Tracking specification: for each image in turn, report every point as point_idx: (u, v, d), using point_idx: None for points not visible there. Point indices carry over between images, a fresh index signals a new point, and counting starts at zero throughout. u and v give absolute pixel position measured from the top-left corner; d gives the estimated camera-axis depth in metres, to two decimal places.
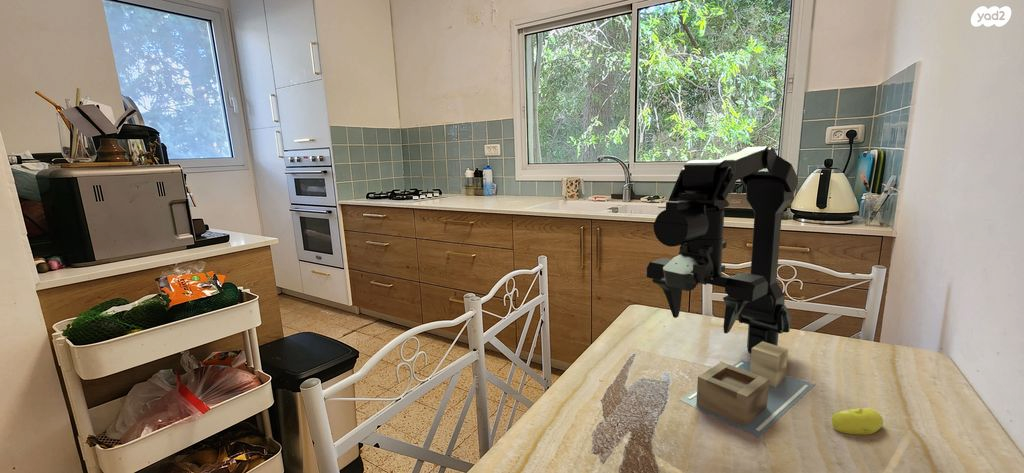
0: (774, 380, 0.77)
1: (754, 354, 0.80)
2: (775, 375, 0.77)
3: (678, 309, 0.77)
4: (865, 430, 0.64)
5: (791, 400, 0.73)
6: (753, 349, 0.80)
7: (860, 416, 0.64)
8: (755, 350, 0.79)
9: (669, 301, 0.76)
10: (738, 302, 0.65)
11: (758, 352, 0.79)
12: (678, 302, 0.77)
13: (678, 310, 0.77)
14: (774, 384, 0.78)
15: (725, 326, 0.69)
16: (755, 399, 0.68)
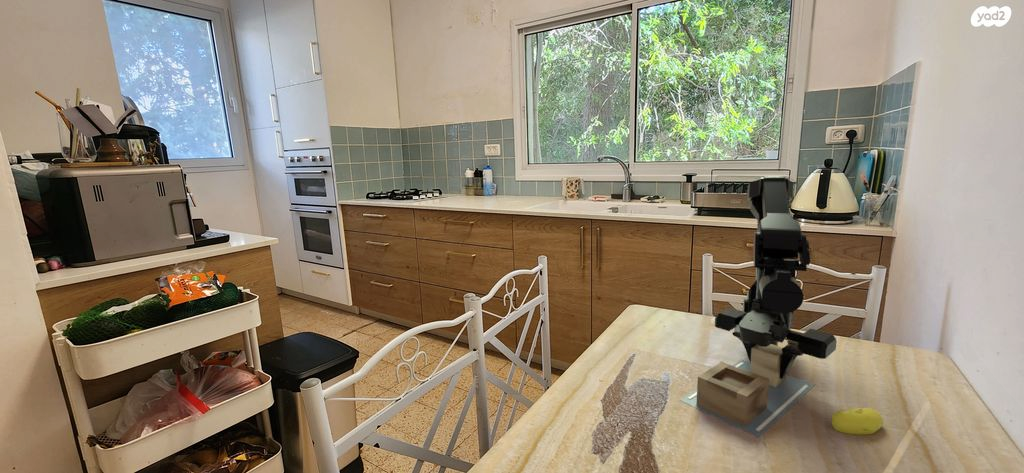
0: (774, 380, 0.77)
1: (754, 354, 0.80)
2: (775, 375, 0.77)
3: None
4: (865, 430, 0.64)
5: (791, 400, 0.73)
6: (753, 349, 0.80)
7: (860, 416, 0.64)
8: (755, 350, 0.79)
9: (749, 353, 0.82)
10: (796, 354, 0.73)
11: (758, 352, 0.79)
12: None
13: None
14: (774, 384, 0.78)
15: (781, 372, 0.78)
16: (755, 399, 0.68)
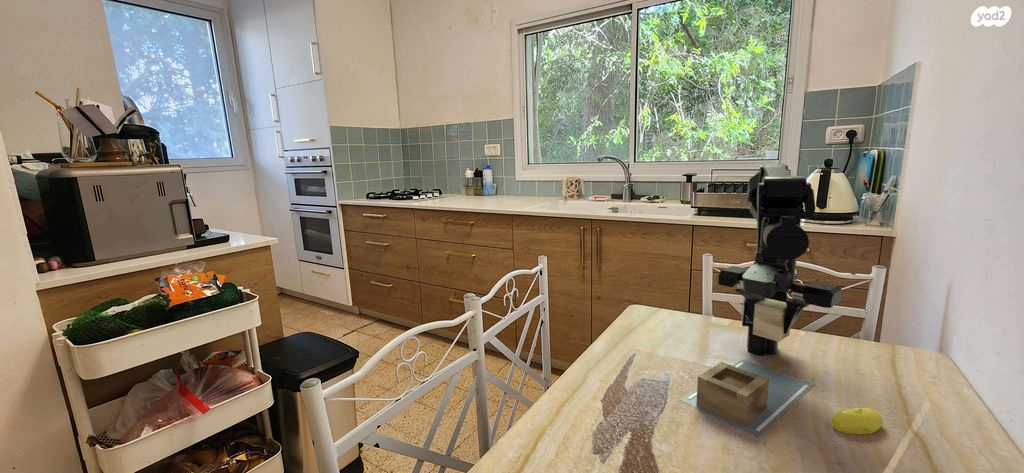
0: (778, 335, 0.76)
1: (757, 309, 0.78)
2: (779, 329, 0.75)
3: None
4: (865, 429, 0.64)
5: (791, 400, 0.73)
6: (756, 304, 0.78)
7: (860, 416, 0.64)
8: (758, 305, 0.78)
9: (752, 310, 0.80)
10: (801, 305, 0.72)
11: (762, 307, 0.77)
12: None
13: None
14: (778, 339, 0.76)
15: (785, 327, 0.76)
16: (755, 399, 0.68)
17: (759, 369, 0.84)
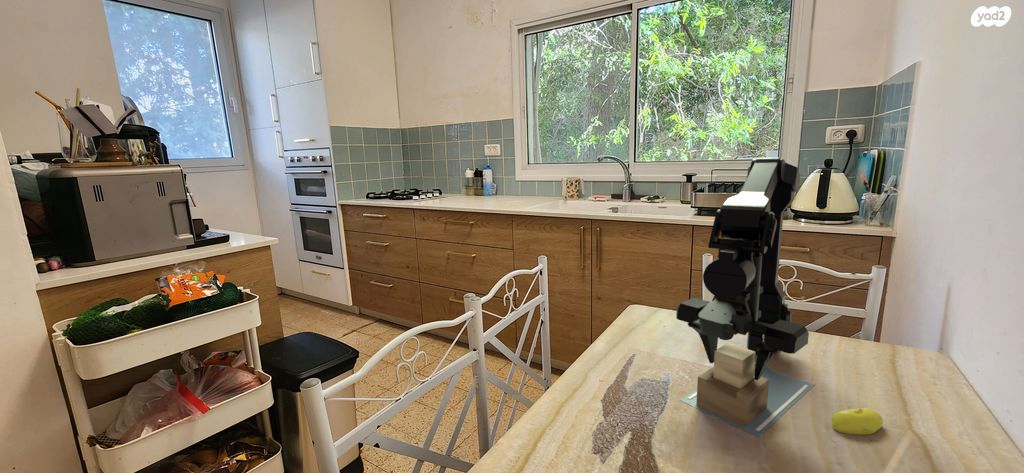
0: (739, 387, 0.68)
1: (717, 357, 0.71)
2: (740, 381, 0.68)
3: None
4: (865, 430, 0.64)
5: (791, 400, 0.73)
6: (716, 352, 0.71)
7: (859, 417, 0.64)
8: (718, 353, 0.70)
9: (705, 346, 0.73)
10: (772, 351, 0.63)
11: (722, 355, 0.70)
12: (715, 347, 0.74)
13: (714, 355, 0.74)
14: None
15: (756, 373, 0.67)
16: (755, 399, 0.68)
17: None
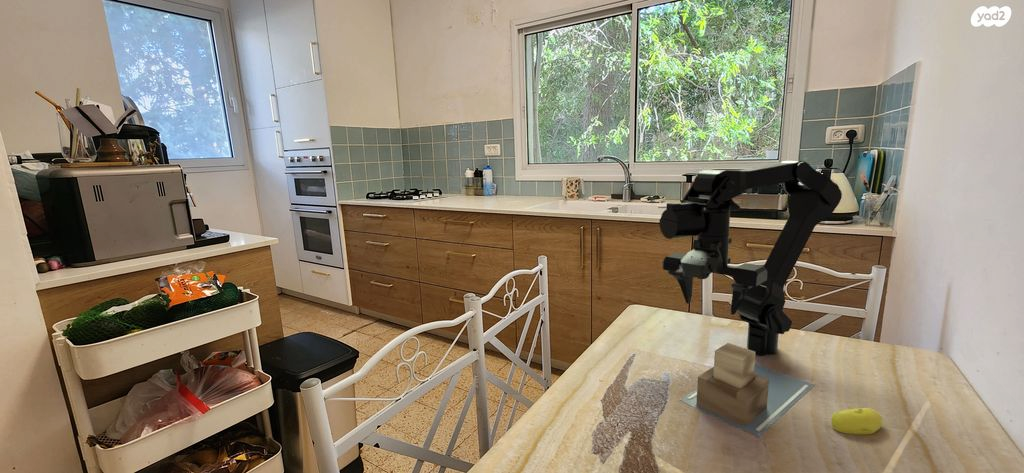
0: (739, 387, 0.68)
1: (717, 357, 0.71)
2: (740, 381, 0.68)
3: (690, 296, 0.90)
4: (865, 430, 0.64)
5: (791, 400, 0.73)
6: (716, 352, 0.71)
7: (859, 416, 0.64)
8: (718, 353, 0.70)
9: (683, 289, 0.90)
10: (744, 287, 0.78)
11: (722, 355, 0.70)
12: (690, 290, 0.90)
13: (690, 297, 0.90)
14: None
15: (732, 308, 0.83)
16: (755, 399, 0.68)
17: (759, 369, 0.84)
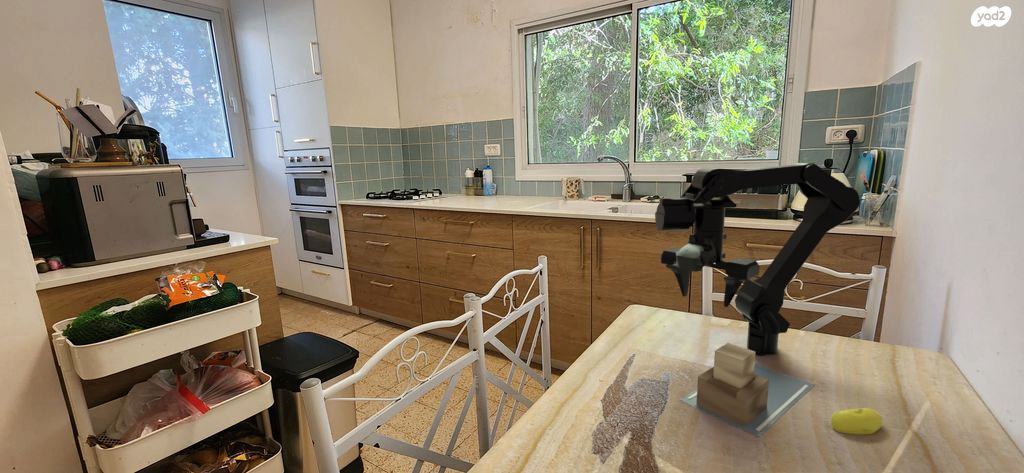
0: (739, 387, 0.68)
1: (717, 357, 0.71)
2: (740, 381, 0.68)
3: (687, 289, 0.94)
4: (864, 430, 0.64)
5: (791, 400, 0.73)
6: (716, 352, 0.71)
7: (859, 417, 0.64)
8: (718, 353, 0.70)
9: (679, 282, 0.94)
10: (736, 280, 0.82)
11: (722, 355, 0.70)
12: (687, 283, 0.94)
13: (686, 290, 0.94)
14: None
15: (725, 301, 0.86)
16: (755, 399, 0.68)
17: (759, 369, 0.84)
